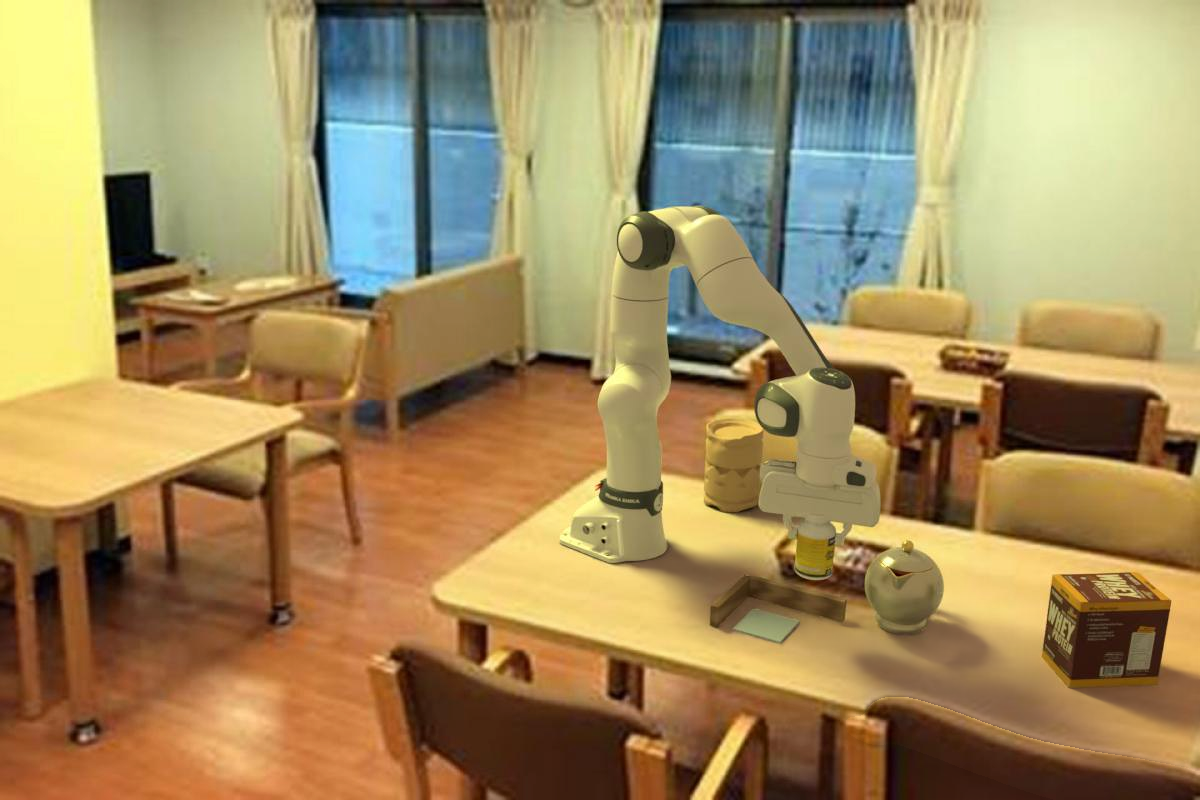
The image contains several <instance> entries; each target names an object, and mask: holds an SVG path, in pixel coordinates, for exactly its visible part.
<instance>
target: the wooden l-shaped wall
mask: <svg viewBox="0 0 1200 800" xmlns="http://www.w3.org/2000/svg"><path fill="white" fill-rule="evenodd" d="M748 599H752V600H757V601H759V602H763V603H767V604H773V605H775V606H779V607H784V608H786V609H789V610H794V611H797V612H802V613H806V614H810V615H813V616H815V617H816V616H817V617H821V618H825V619H828V620H832V621H835V622H840V623H843V622H844V621H845V620H846V613H847V602H848V601H847V598H845V597H840V596H836V595H832V594H828V593H824V592H822V591H818V590H817V591H816V590H813V589H809V588H805V587H802V586H797V585H793V584H789V583H785V582H781V581H777V580H773V579H770V578H766V577H761V576H758V575H754V574H749V575H747V574H744V575H742V576H741V577H740V578H739V579H738V580H737V581H736V582H735V583H734V584H732V586H730V587H729V588H728V589H727V590H726V591H725V592H724V593H722V594H721V595H720V596H719V597H718V598H717V599H716V600H715V601H714V602H712V604H710V609H709V613H710V614H709V626H710V627H714V628H717V629H718V628H719V627H720V626H721V625H722V624H723V623H724V622H726V621H727V619H729V617H731V615H733V614H734V613H735V612H736V611H737V610H738V609H739V608H740V607H741V606H742V605H743V604H744V603H745V602H746V601H747V600H748Z"/></svg>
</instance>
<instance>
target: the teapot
mask: <svg viewBox="0 0 1200 800" xmlns="http://www.w3.org/2000/svg"><path fill="white" fill-rule="evenodd" d="M914 545H915V544H914V542H912V541H911V540H910V539H909V540H908V539H906V540H903V541H902V543H901V546H899V547H898V546H897V547H891V548H888V549H887V550H884V551H883V552H881V553H879V555H877V556H876V557H875V558H874V559H873V560H872V561H871V562H870V564H869V566H868V568H867V570H866V573H865V577H864V592H865V596H866V598H867V601H868V603H869V605H870V606H871V608H872V609H873V610H874V611H875V612H876V613H875V621H876V623H877V625H878V626H879V627H880V628H881V629H883V630H885V631H887V632H889V633H892V634H897V635H914V634H918V633H921V632H922V631H923V630H924V629H925V628H926V625H927V619H929V618H930V617H931V616H932V615H933V614H934V613H935V612H936V611H937V609H938V608H939V607H940V605H941V603H942V600H943V597H944V591H945V584H944V583H945V582H944V578H943V574H942V571H941V569H940V568H939V566H938V564H937V563H936V562H935V561H934V559H932V558H931V556H929V555H928V554H927V553H925V552H923V551H921V550H919V549H918V548H915V546H914Z"/></svg>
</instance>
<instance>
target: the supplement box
mask: <svg viewBox="0 0 1200 800" xmlns="http://www.w3.org/2000/svg"><path fill="white" fill-rule="evenodd" d="M1049 591H1050V592H1049V600H1048V607H1047V615H1046V622H1045V629H1044V632H1045V633H1044V638H1043V645H1042V652H1041V657H1042V658H1043V660H1044V661H1045V662H1046V663H1047V664H1048V666H1050V668H1051V669H1052V670H1053V671H1054V672H1055V673H1056V675H1057V676H1058V677H1059V678H1060V679H1061V680H1062V682H1063V683H1065V684H1066V686H1067V687H1068V688H1069V689H1078V688H1079V689H1081V688H1103V687H1104V688H1106V687H1110V688H1111V687H1129V686H1130V687H1134V686H1155V685H1158V684H1159V683H1158V682H1159V677H1160V672H1161V671H1160V669H1161V666H1162V659H1163V652H1164V647H1165V641H1166V636H1167V635H1166V634H1167V629H1168V625H1169V624H1168V623H1169V618H1170V613H1171V606H1172V600H1171V599H1170V597H1168V596H1166V595H1165V594H1164V593H1163V592H1162V591H1160V590H1159V589H1158V588H1157V587H1156V586H1155V585H1153V584H1152V583H1151V582H1150V581H1149V580H1148V579H1146V577H1144V575H1142V574H1141V573H1140V572H1138V571H1131V572H1130V571H1129V572H1107V573H1104V572H1103V573H1069V574H1068V573H1066V574H1065V573H1064V574H1063V573H1061V574H1059V573H1058V574H1052V576H1051V585H1050V590H1049Z"/></svg>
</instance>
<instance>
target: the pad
mask: <svg viewBox="0 0 1200 800" xmlns="http://www.w3.org/2000/svg"><path fill="white" fill-rule="evenodd" d="M799 624H800V620H798V619H796V618H791V617H788V616H787V617H786V616H783V615H779V614H776V613H773V612H769V611H765V610H761V609H757V608H752V609H751V610H750V611H749V612H748V613H747V614H746V615H745V616H744V617H743V618H742V619H740V621H739V622H737V624H736V625H735V626H734V627H732V631H733V632H737V633H740V634H745V635H747V636H751V637H755V638H759V639H762V640H765V641H768V642H772V643H776V644H779V645H780V644H782V643H783V641H784V640H785V639H786V638H787V637H788V636H789V635H790V634H791V633H792V631H793V630H795V628H796V627H797V626H798V625H799Z"/></svg>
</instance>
